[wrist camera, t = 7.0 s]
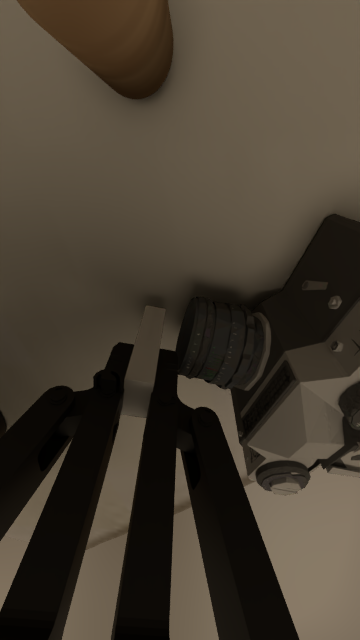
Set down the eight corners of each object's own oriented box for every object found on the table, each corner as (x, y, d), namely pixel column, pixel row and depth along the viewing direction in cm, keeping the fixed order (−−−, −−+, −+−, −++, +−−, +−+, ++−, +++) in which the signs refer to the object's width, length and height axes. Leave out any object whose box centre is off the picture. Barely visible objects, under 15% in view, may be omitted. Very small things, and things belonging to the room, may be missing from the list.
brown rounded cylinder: (105, 98, 12) (-8, 21, 5) (107, -4, 10) (-62, -326, 3) (169, 114, 12) (142, 61, 5) (182, 18, 10) (165, -243, 4)
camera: (231, 177, 13) (293, 207, 5) (384, 230, 15) (633, 325, 6) (163, 367, 22) (146, 493, 14) (264, 390, 23) (304, 519, 15)
